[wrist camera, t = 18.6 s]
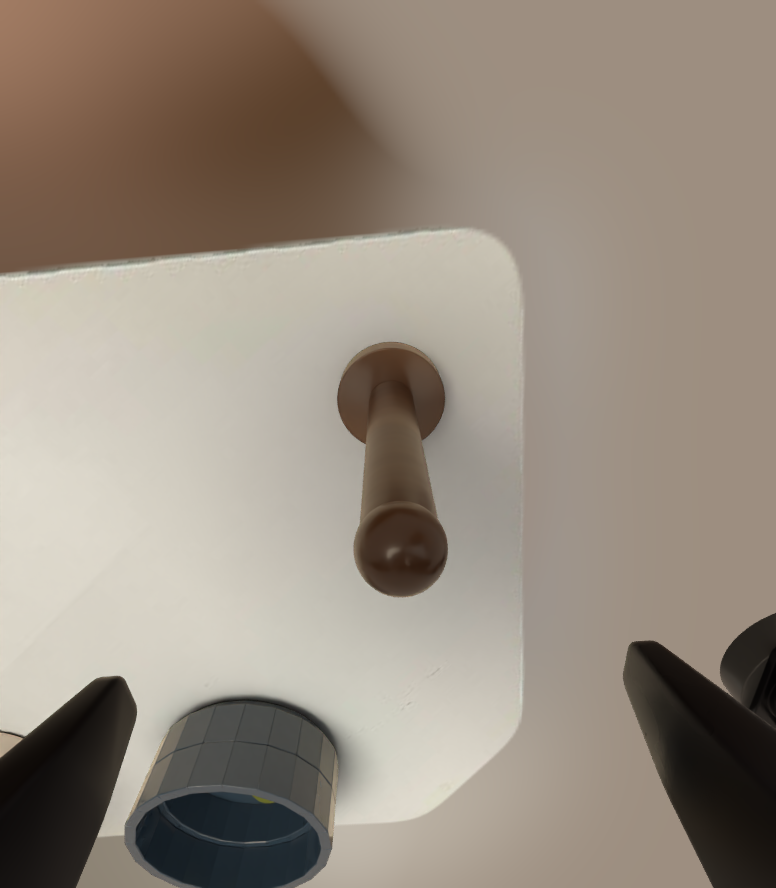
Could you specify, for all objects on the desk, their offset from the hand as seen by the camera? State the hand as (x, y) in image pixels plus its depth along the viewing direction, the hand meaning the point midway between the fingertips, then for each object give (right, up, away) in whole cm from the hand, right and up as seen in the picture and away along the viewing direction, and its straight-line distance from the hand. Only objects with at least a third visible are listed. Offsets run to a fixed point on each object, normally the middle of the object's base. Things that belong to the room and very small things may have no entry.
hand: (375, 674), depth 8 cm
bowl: (-9, -16, +21) cm, 28 cm away
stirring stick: (0, +6, +11) cm, 13 cm away
